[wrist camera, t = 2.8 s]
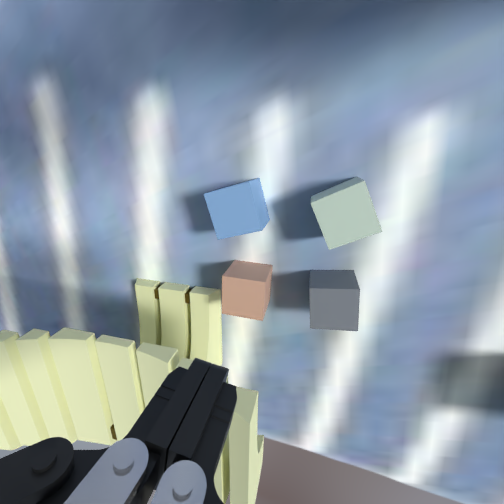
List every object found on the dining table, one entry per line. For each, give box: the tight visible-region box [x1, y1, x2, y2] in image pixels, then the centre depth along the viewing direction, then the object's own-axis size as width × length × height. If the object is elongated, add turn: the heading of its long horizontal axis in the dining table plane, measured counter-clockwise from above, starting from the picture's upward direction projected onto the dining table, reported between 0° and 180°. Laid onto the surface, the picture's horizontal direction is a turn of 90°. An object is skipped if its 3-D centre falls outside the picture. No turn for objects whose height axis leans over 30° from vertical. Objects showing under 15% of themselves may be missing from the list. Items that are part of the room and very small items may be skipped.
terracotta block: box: [222, 260, 272, 321], centre depth 32 cm, size 5×5×5 cm
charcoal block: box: [309, 270, 360, 331], centre depth 30 cm, size 5×5×5 cm
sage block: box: [311, 177, 382, 250], centre depth 27 cm, size 5×5×5 cm
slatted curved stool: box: [0, 278, 264, 504], centre depth 32 cm, size 30×16×18 cm, turn 89°
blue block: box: [204, 178, 270, 240], centre depth 29 cm, size 5×5×5 cm
